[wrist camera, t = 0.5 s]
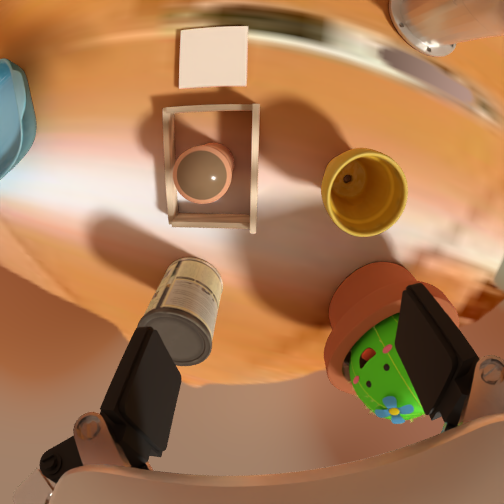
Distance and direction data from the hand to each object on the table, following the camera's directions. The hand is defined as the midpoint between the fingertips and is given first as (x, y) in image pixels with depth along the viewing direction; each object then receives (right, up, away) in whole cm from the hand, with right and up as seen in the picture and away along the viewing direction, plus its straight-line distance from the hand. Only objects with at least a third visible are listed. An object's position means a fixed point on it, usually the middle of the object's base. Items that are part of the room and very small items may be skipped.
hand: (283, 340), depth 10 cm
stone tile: (-6, +29, +21) cm, 36 cm away
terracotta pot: (-7, +16, +28) cm, 33 cm away
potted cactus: (+21, -6, +38) cm, 44 cm away
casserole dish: (-53, +27, +24) cm, 65 cm away
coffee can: (-11, -2, +37) cm, 39 cm away
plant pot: (+12, +14, +28) cm, 34 cm away
